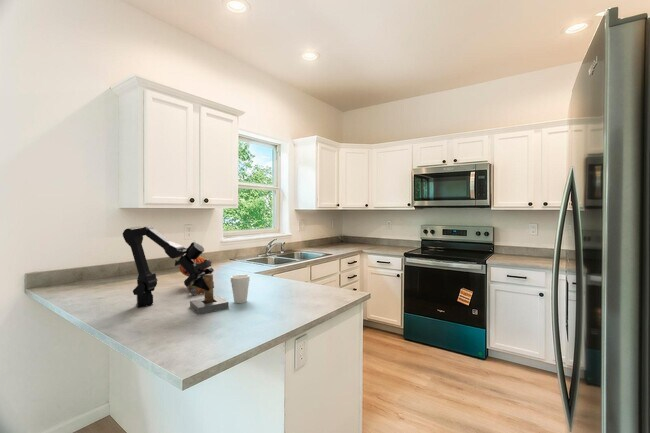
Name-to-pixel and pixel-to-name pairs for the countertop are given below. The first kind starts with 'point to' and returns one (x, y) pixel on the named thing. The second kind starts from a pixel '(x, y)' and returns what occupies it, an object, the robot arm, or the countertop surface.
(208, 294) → the peg
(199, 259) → the lantern
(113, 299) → the countertop surface
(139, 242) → the robot arm
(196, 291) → the tin
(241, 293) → the foam cup
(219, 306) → the socket block
